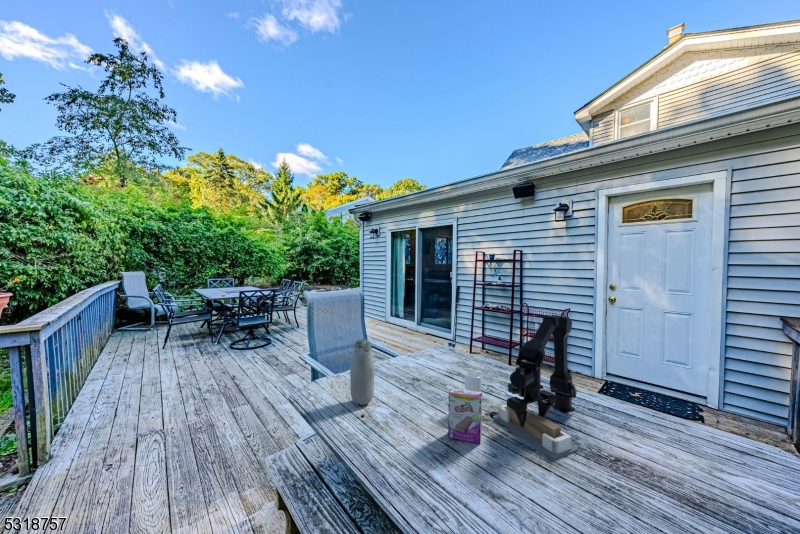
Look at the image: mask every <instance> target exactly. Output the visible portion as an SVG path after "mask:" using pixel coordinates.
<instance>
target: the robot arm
mask: <svg viewBox="0 0 800 534" xmlns="http://www.w3.org/2000/svg"><path fill="white" fill-rule="evenodd" d="M542 317H543V318H542V322H541V323H540V325H539V326H538V329H537V331H536V332H535V334H534V335H533V337H532V339H530V340H527V341H526V342H524V344H523V345H522V347H521V348H520V350H519V352H518V355H517V358H516V361H515V365H516V366H517V367H515V369H514V371H513V372H511V374H510V375H509V380H510V381H509V383H508V384H507V390H508V392H509V393H511V394H512V395H515V394H517V395H518V396H519V397H520V398H519V397H517V396H512V397H508V398H507V399H506V404H507V406H508V407H510V408H511V409H513V410H514V411H515V413H516V415H517V417H518V420H519V423H520V426H521V427H524V424H525V420H526V416H527V412H528V411H526V409H527V410H528V405H531V404H535V403H537V408H538V409H537V410H538V415H539V416H541V417H543V418H545V419H546V416H547V415H548V413H549V411H550V410H551V408H552V407H553V408H555V409H557V410H558V411H561V412H562V413H568V412H572V411H575V410H576V408H575V407H574V406H572V405H573V403H572V401H573V398H577V391H578V390H577V388H576V386H575V384H574V383H573V377H572V375H571V374H570V372H569V371H568V342H567V341H568V339H567V338H568V335H569V334H570V332H572V331H571V330H572V327H573V321H572V319H571V318H570V316H566V315H558V314H551V315H548V314H547V315H544V316H542ZM551 336H552V337H553V357H554V358H553V360H554V361H553V362H554V364H553V365H554V366H553V367H554V371H553V373H552V374H551V375H550V376H549V389H550V391H548V390H546V389H544V385H543V384H541V380H542V379H541V375H542V373H541V371H542V370H541V368H542V367H543V364H544V362H545V357H546V351H545V348H546V345H547V343H548V342H549V340H550V339H551ZM521 398H522V399H521Z"/></svg>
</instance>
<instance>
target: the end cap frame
mask: <svg viewBox="0 0 800 534" xmlns="http://www.w3.org/2000/svg"><path fill="white" fill-rule="evenodd" d="M492 418H493V419H494V420H496V421H497V422H498V423H500V424H501V425H503V426H504V427H506V428H507V429H509V431H511V432H513V433H514V434H516V435H517V436H519V437H520V438H522V439H523V440H525V441H526V442H528V443H529V444H530V445H532V446H533V447H535V448H537V449H538V450H540V452H543V453H544V454H546V455H547V456H548V457H549V458H551V459H553V460H559V459H560V458H564V457H566V456H567V455H569V456H570V454H573V453H574V454H575V453H576V452H579V448H578V447H575V446H574V445H573V444H572V443H573V436H572V435H570V434H568V433H566V432H564V431H563V430H561V437H558V438H555V439H554V438H552V437H551V436H549V435H547V434H546V433H544V434H543V438H542V440H540V439H539V438H537V437H535V436H534V435H532V434H530V433H529V432H527V431H525V430H524V429H522V428H520V427H519V426H517V425H515V424H514V423H512V422H510V411H508V410H507V403H506V404H502V405H498V406H497V414H496V415H493V416H492Z"/></svg>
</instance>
